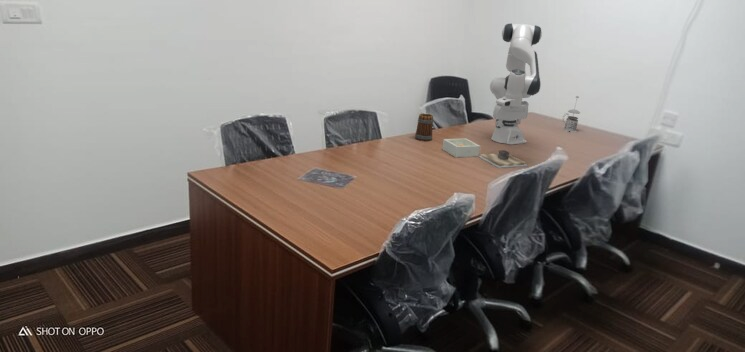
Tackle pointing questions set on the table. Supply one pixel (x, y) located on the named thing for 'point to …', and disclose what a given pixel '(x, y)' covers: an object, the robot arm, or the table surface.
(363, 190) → the table surface
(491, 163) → the mat
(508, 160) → the lid
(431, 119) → the mug
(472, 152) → the pale green open box
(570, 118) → the french press
